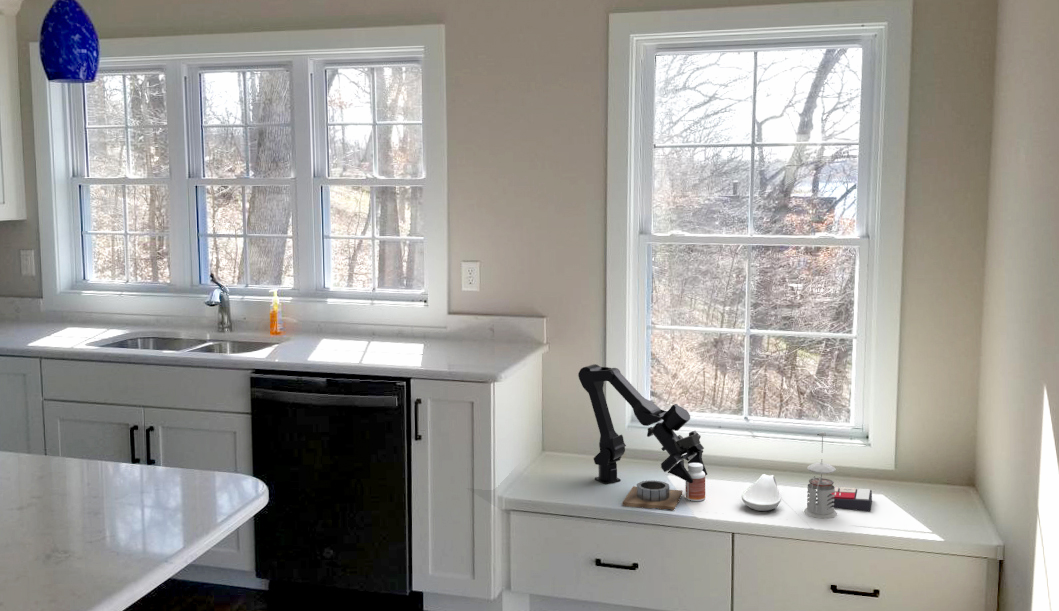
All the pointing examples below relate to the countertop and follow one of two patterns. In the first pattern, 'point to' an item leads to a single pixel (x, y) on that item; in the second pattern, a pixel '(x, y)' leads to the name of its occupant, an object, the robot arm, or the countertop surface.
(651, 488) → the collar
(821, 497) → the french press
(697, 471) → the pill bottle
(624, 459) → the countertop surface
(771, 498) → the spoon rest
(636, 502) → the socket plate
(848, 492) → the black box
